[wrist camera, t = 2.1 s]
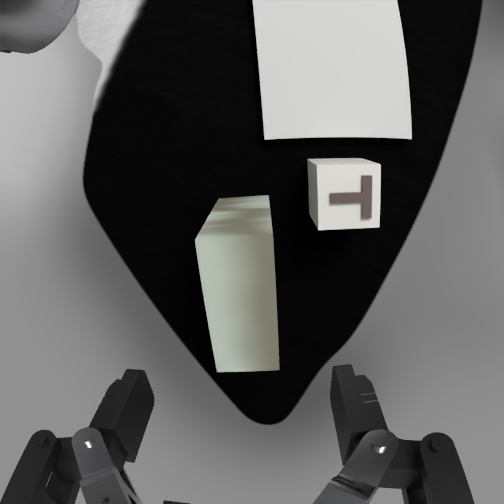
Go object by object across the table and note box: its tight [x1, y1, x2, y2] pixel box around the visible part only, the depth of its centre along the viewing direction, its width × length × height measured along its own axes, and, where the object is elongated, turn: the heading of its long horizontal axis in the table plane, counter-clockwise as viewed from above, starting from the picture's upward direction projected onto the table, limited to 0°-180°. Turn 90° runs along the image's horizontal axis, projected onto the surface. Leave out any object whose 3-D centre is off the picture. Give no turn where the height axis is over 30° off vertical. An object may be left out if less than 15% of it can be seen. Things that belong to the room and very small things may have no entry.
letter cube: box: [307, 158, 381, 230], centre depth 23 cm, size 4×4×5 cm
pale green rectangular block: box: [195, 195, 279, 372], centre depth 23 cm, size 4×9×10 cm, turn 5°
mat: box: [253, 0, 412, 140], centre depth 20 cm, size 12×18×1 cm, turn 4°
